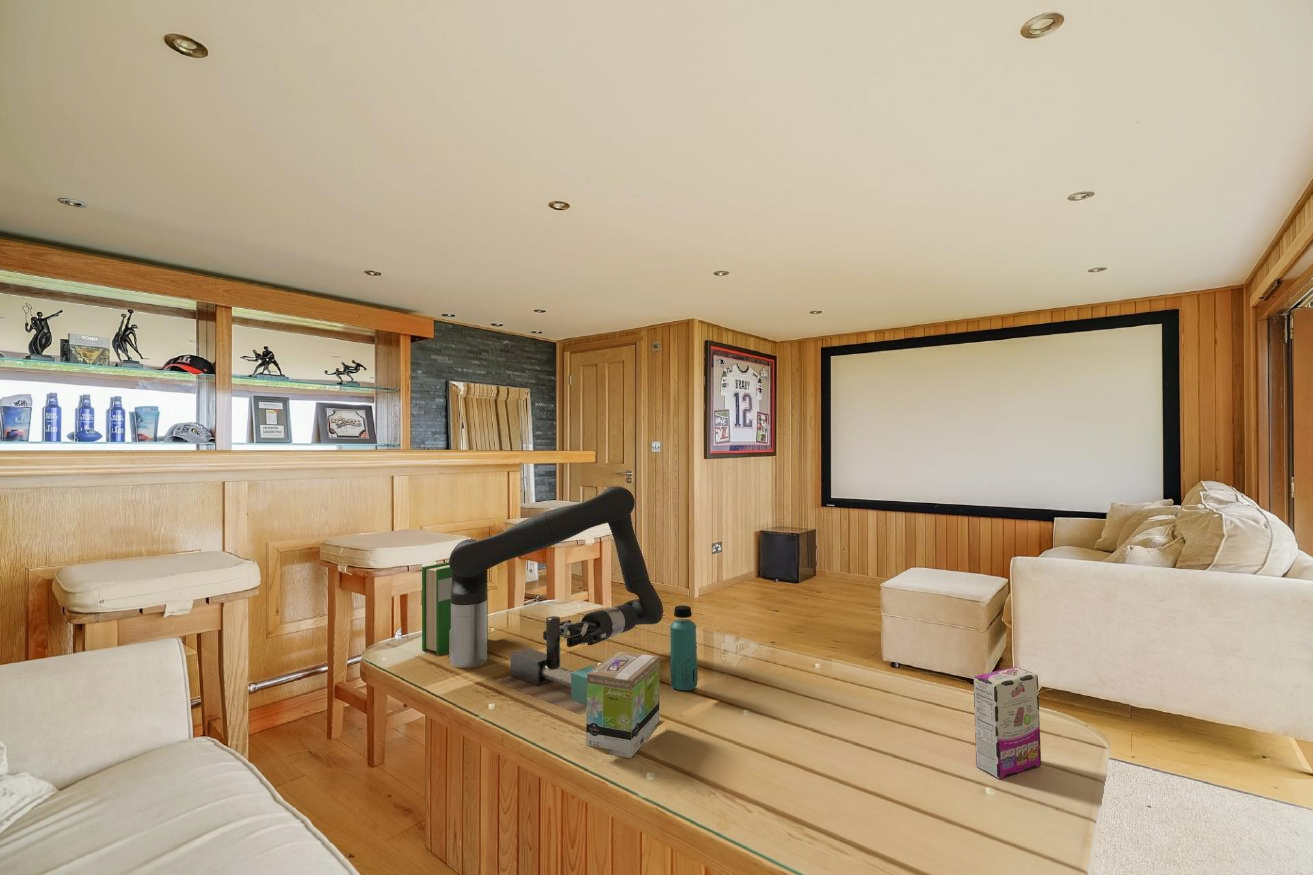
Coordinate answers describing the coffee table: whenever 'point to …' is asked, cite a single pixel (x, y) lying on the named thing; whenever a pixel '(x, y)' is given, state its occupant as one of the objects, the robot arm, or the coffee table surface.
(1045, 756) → the coffee table surface
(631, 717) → the tea box
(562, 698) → the base board
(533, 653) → the grey block
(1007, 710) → the candy bar box
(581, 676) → the socket
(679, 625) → the beverage bottle
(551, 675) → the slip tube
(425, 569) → the hardback book
